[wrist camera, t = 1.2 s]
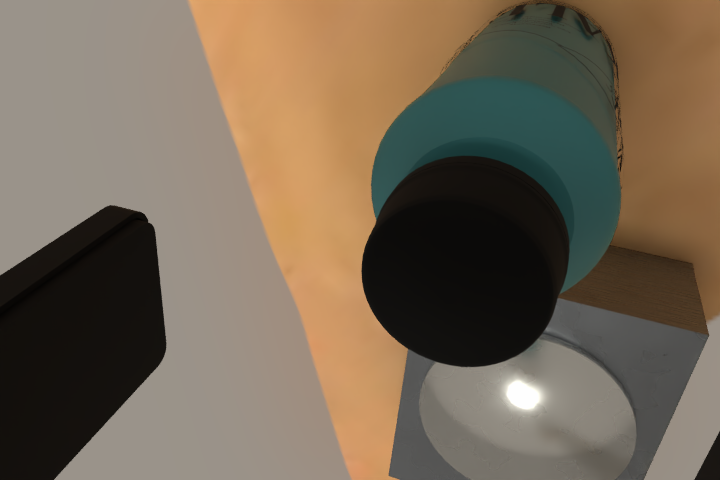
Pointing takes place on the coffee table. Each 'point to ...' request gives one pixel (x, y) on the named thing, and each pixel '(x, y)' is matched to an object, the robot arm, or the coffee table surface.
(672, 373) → the motor housing
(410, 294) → the beverage bottle
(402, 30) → the coffee table surface
